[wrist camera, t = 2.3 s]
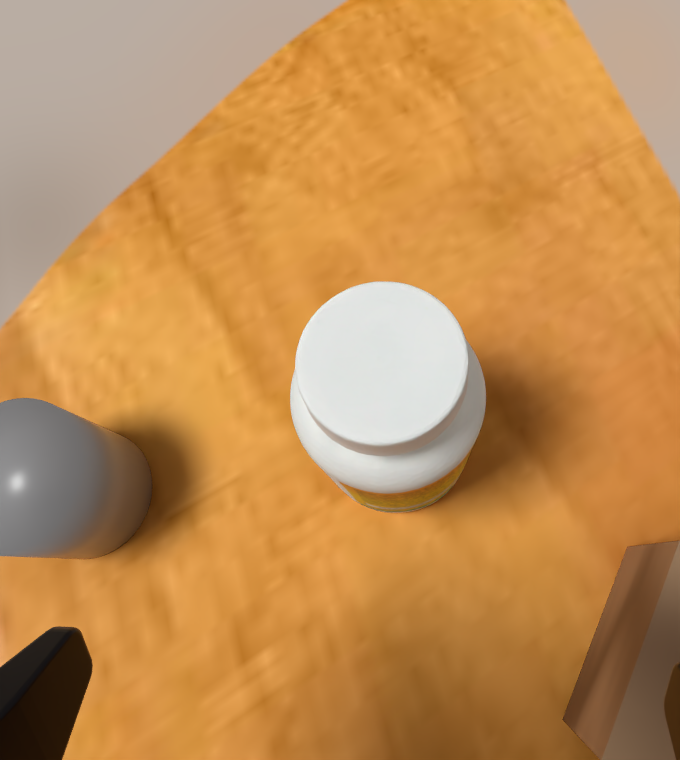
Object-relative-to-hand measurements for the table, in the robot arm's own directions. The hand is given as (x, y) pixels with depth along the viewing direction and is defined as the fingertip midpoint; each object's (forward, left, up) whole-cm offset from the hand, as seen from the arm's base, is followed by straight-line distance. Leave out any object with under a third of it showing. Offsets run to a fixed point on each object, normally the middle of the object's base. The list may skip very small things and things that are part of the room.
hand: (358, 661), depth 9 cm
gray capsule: (-6, +11, -12) cm, 18 cm away
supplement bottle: (+4, +4, -13) cm, 14 cm away
